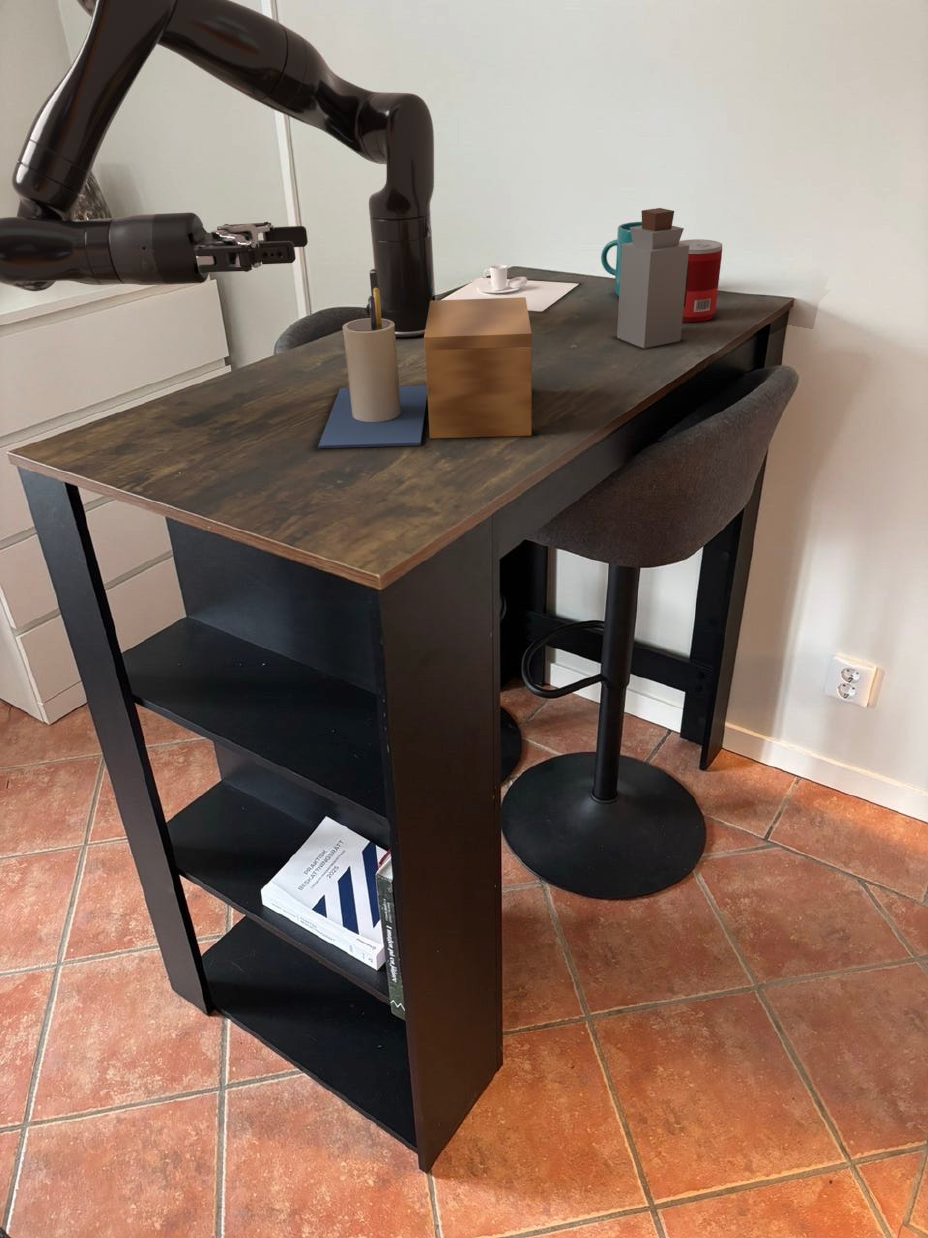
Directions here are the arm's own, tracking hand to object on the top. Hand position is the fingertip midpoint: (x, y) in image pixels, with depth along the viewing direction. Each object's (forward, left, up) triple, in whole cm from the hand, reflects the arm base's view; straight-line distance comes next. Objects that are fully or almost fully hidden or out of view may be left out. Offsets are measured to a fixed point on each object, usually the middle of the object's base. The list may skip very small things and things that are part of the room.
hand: (300, 243), depth 104 cm
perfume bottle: (+33, +43, -21) cm, 58 cm away
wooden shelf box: (+19, +7, -21) cm, 29 cm away
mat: (+7, +2, -21) cm, 22 cm away
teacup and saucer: (+3, +65, -21) cm, 68 cm away
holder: (+7, +2, -20) cm, 22 cm away
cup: (+25, +69, -21) cm, 76 cm away
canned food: (+37, +57, -21) cm, 71 cm away
